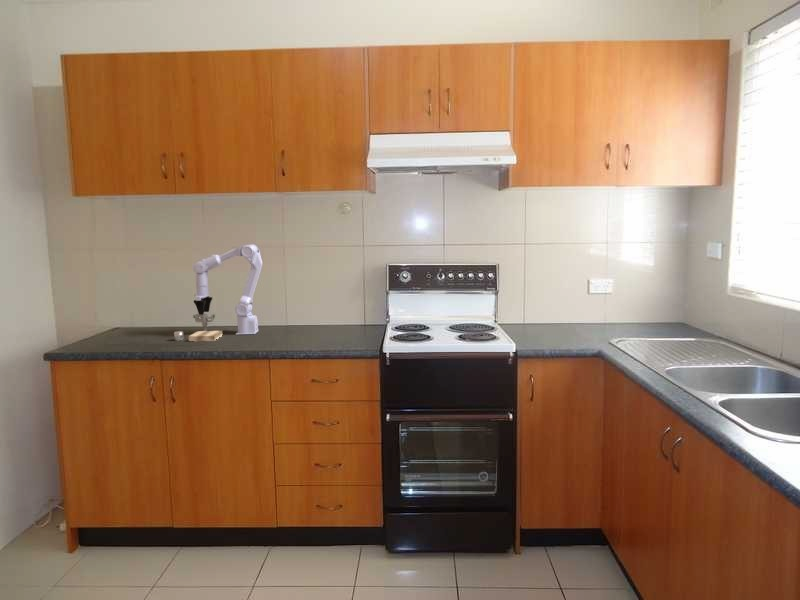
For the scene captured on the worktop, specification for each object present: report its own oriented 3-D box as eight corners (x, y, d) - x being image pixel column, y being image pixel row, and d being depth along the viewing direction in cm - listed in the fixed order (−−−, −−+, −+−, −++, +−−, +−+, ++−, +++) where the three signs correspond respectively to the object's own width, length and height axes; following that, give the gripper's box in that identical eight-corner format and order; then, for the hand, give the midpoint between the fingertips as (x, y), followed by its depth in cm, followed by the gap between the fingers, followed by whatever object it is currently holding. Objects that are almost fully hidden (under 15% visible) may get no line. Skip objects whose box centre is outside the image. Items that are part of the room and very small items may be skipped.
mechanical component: (214, 334, 271) (213, 314, 269) (194, 334, 271) (192, 314, 269) (216, 333, 273) (215, 313, 272) (196, 333, 274) (194, 313, 272)
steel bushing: (185, 339, 261) (184, 330, 261) (181, 341, 257) (181, 332, 257) (176, 339, 261) (176, 331, 261) (173, 341, 257) (172, 332, 257)
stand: (222, 335, 267) (222, 330, 267) (214, 340, 255) (214, 335, 255) (197, 336, 267) (197, 331, 267) (188, 341, 255) (188, 336, 255)
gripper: (199, 284, 276) (200, 310, 278) (188, 287, 261) (190, 315, 263) (213, 284, 276) (214, 310, 278) (203, 287, 262) (205, 315, 263)
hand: (203, 313), depth 271 cm, fingers open, 7 cm apart
